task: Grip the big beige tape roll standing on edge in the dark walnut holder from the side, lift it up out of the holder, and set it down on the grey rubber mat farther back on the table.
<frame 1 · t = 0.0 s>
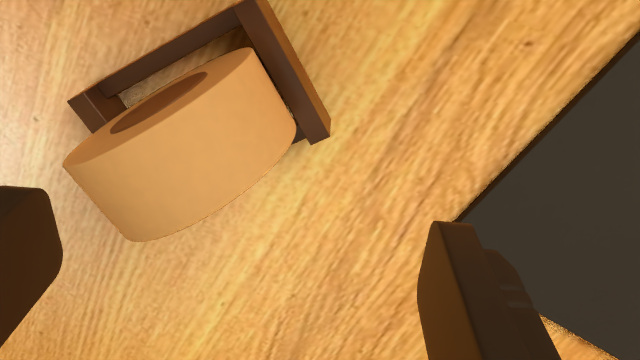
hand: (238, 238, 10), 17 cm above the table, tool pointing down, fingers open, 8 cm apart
tape roll: (210, 103, 27), resting in holder
holder: (210, 103, 27), on the table
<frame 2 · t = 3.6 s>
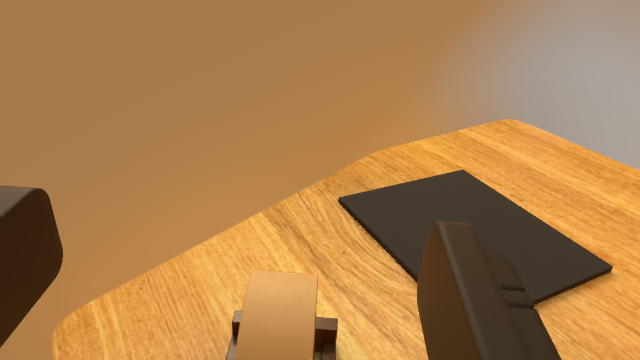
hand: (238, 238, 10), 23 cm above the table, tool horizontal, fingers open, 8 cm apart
mat: (464, 233, 51), on the table
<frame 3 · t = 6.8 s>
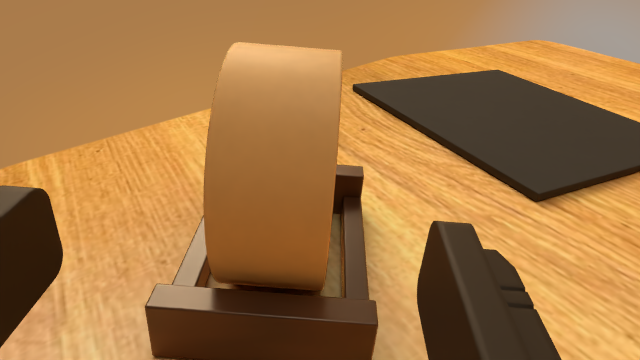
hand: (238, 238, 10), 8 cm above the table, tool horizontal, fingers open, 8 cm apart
mat: (510, 118, 41), on the table
tape roll: (278, 262, 22), resting in holder
holder: (278, 262, 22), on the table
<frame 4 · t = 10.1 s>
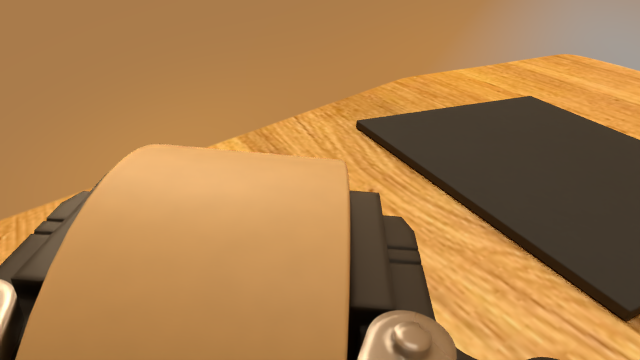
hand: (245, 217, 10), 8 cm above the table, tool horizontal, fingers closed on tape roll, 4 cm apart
mat: (557, 168, 32), on the table
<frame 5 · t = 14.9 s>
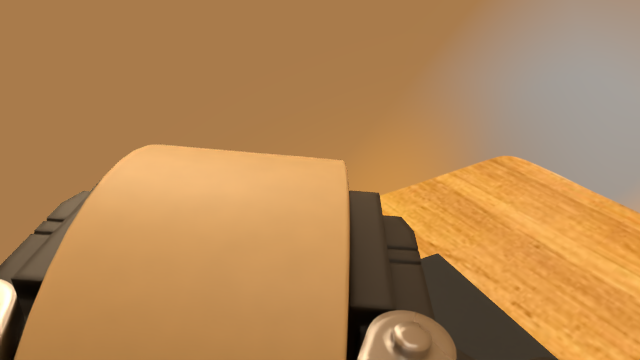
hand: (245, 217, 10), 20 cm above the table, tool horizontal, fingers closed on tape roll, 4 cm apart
when the fingers open (9 cm above the table, at t = 19.6 s): tape roll stays where it is, resting on mat.
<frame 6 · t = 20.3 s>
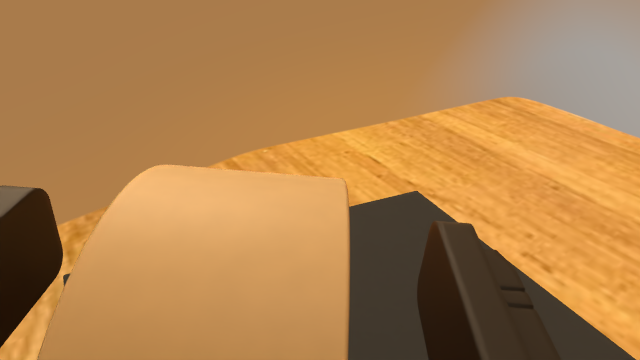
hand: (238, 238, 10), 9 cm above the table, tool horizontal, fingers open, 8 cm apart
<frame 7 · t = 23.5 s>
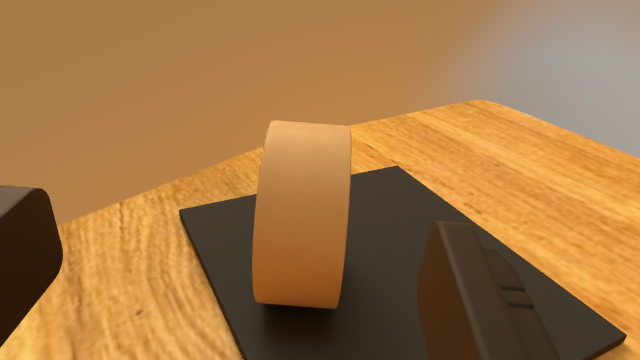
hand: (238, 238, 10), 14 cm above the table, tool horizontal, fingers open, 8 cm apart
mat: (372, 271, 30), on the table
tape roll: (298, 298, 26), point 1 cm above the table, tilted 21°, touching mat
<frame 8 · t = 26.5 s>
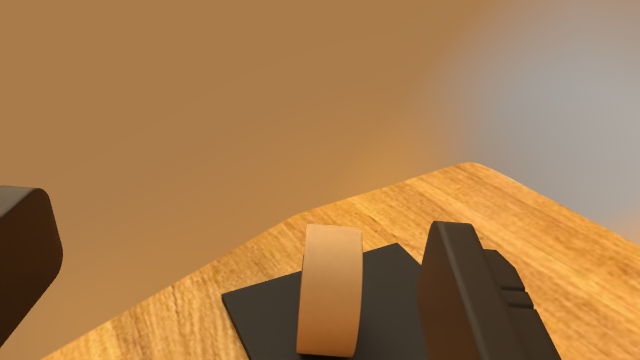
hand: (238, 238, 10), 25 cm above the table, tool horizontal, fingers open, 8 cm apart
mat: (378, 350, 38), on the table
tape roll: (324, 355, 34), point 3 cm above the table, tilted 57°, touching mat
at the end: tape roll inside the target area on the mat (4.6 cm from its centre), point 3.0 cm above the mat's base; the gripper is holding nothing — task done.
